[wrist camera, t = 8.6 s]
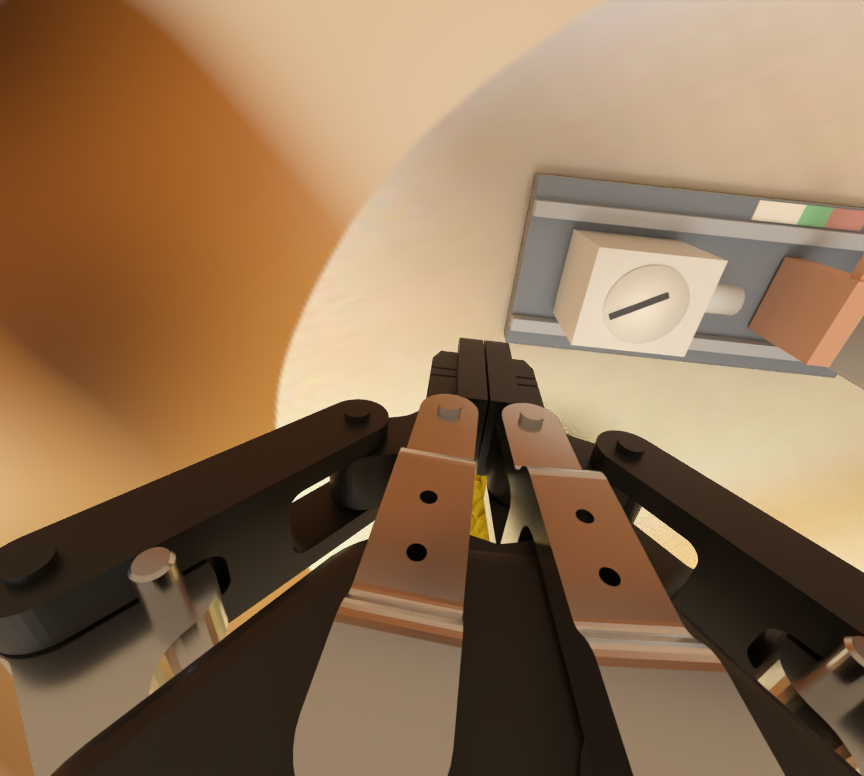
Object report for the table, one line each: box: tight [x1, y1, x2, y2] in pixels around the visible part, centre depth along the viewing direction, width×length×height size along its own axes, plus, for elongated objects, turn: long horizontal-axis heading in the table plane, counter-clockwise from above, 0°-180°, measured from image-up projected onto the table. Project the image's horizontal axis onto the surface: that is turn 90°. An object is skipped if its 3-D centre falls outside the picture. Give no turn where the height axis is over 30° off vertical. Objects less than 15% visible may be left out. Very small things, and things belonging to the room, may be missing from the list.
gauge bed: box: [504, 173, 864, 390], centre depth 22 cm, size 22×10×10 cm, turn 85°
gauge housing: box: [553, 229, 745, 357], centre depth 22 cm, size 9×5×5 cm, turn 85°
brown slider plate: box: [748, 254, 864, 367], centre depth 22 cm, size 1×7×5 cm, turn 175°
